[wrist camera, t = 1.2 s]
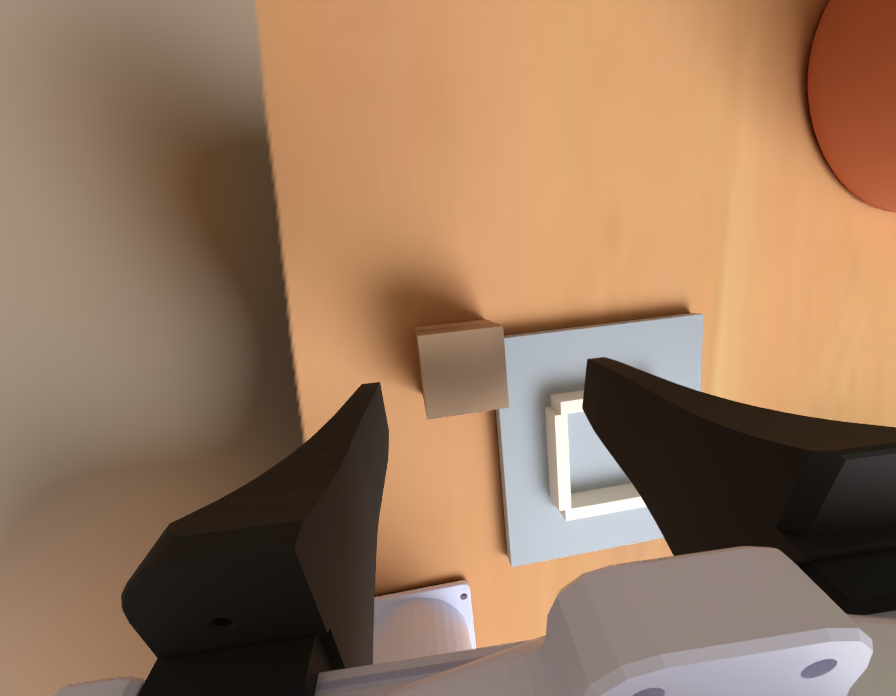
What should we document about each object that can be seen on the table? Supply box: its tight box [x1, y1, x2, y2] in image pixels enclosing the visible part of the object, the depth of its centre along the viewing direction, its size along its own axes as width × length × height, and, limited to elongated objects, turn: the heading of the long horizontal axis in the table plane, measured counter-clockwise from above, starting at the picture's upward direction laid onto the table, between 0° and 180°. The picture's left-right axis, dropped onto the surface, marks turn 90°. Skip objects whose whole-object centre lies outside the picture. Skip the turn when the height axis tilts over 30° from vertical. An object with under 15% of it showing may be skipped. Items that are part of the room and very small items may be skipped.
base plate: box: [496, 313, 703, 567], centre depth 23 cm, size 16×14×2 cm
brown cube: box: [415, 319, 509, 419], centre depth 20 cm, size 4×4×4 cm
